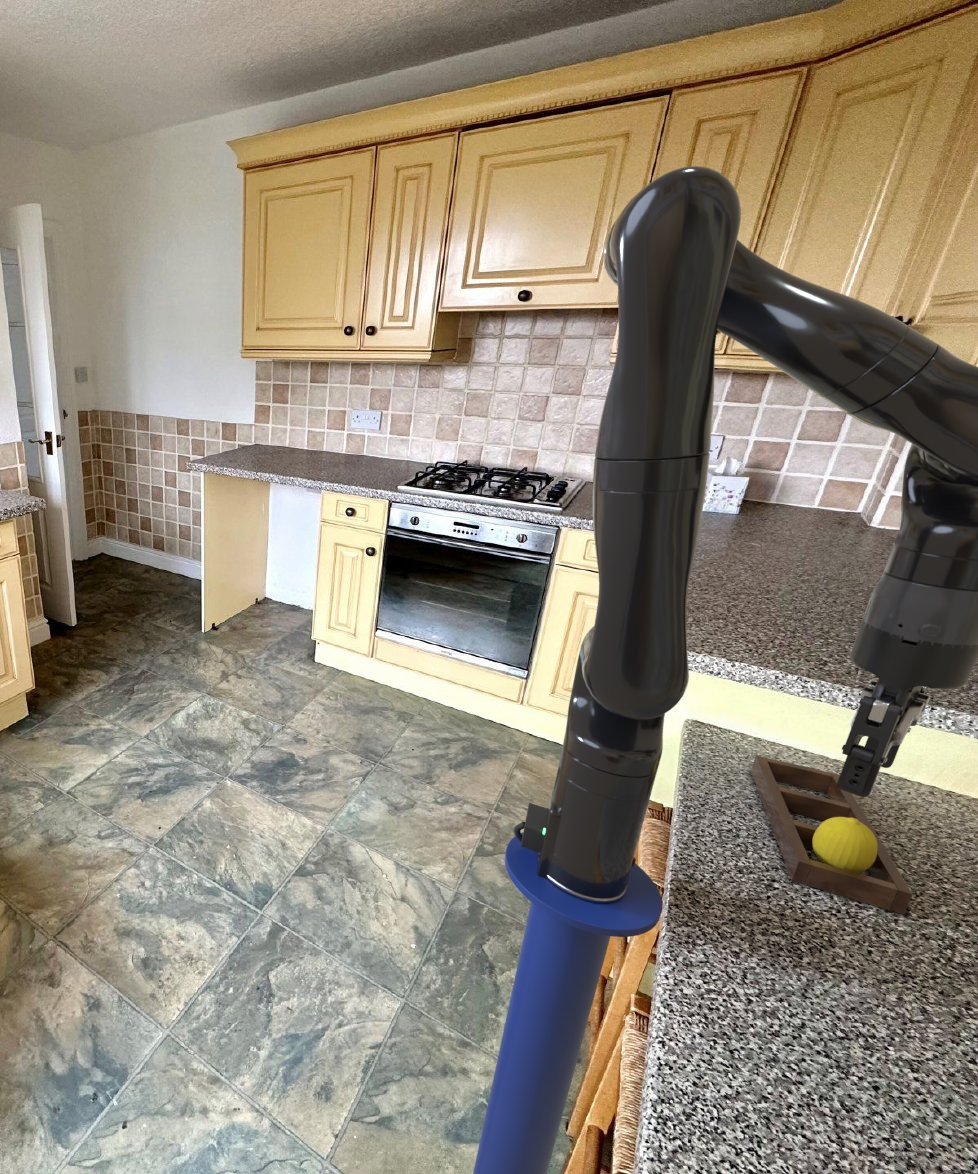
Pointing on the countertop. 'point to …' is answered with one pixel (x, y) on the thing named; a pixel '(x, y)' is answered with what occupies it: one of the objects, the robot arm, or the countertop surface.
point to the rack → (796, 836)
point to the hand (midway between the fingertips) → (864, 777)
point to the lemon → (845, 844)
